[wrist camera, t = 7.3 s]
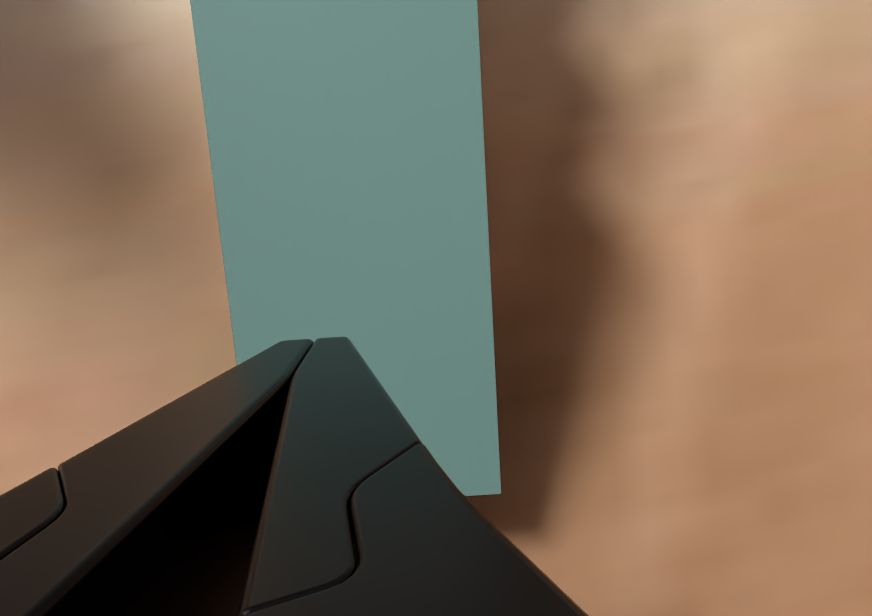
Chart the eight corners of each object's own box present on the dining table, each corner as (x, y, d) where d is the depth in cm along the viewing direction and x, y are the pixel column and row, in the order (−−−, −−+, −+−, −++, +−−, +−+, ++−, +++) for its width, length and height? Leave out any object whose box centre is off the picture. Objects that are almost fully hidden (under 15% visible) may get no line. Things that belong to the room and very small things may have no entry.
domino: (501, 493, 14) (475, -39, 12) (255, 508, 14) (187, -20, 12) (494, 460, 16) (470, -17, 14) (272, 474, 16) (215, 1, 14)
